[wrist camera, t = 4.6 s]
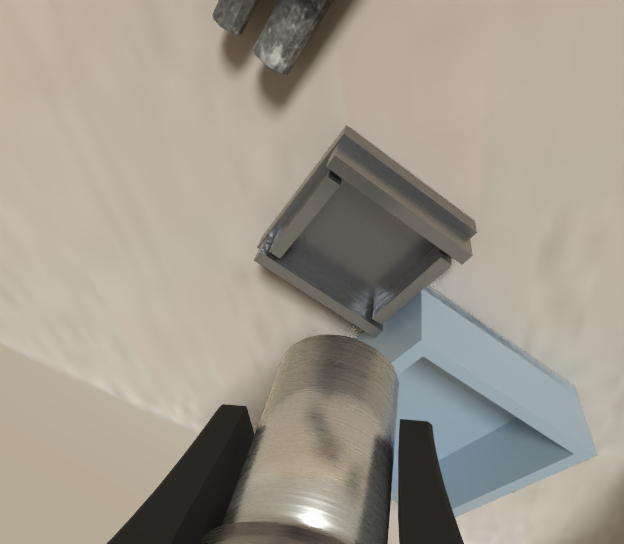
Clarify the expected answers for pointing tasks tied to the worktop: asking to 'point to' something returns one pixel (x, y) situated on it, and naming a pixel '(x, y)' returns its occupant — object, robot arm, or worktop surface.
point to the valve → (275, 27)
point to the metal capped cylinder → (319, 451)
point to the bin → (479, 402)
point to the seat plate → (364, 234)
